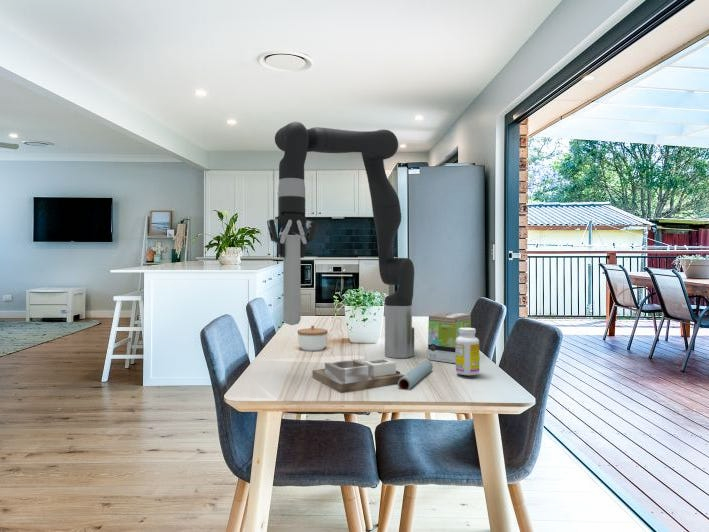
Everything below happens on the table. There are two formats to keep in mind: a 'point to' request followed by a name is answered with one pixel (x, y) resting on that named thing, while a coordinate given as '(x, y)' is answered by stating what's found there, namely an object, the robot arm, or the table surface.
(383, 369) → the white hollow block
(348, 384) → the desk organizer tray
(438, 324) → the tea box
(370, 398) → the table surface
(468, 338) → the supplement bottle
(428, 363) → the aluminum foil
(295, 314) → the tube
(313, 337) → the lidded jar
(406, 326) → the robot arm
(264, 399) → the table surface
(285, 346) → the table surface
